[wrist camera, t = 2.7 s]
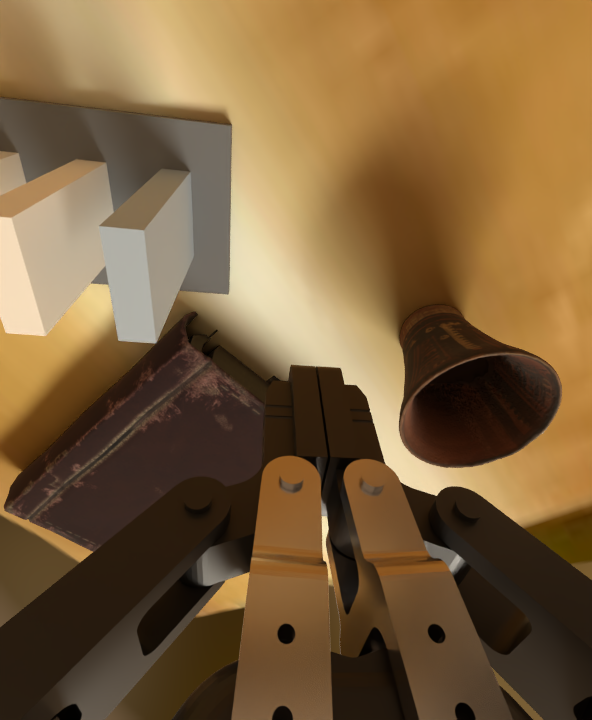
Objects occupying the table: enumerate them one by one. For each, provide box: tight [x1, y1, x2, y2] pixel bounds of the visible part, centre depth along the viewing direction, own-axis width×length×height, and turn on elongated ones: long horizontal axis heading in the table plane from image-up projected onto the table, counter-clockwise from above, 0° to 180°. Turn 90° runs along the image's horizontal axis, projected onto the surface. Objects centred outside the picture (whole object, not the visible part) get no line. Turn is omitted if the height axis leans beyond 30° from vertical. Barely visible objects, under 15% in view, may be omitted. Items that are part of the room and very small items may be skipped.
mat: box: [0, 97, 232, 294], centre depth 24 cm, size 10×25×1 cm, turn 84°
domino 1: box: [0, 159, 114, 336], centre depth 20 cm, size 5×2×10 cm, turn 174°
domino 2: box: [99, 169, 194, 343], centre depth 20 cm, size 5×2×10 cm, turn 174°
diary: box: [4, 312, 280, 552], centre depth 36 cm, size 19×25×5 cm
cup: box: [399, 305, 562, 468], centre depth 27 cm, size 9×9×10 cm
